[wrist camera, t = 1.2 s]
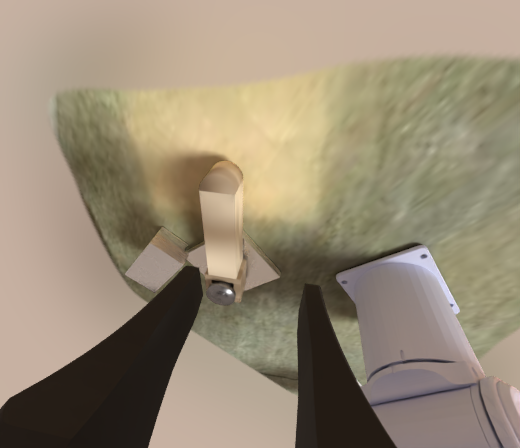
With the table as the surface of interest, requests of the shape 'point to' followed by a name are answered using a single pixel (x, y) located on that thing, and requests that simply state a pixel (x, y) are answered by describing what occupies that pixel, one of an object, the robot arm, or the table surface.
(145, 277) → the block
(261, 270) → the pintle base
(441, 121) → the table surface
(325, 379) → the robot arm
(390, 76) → the table surface
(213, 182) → the link
